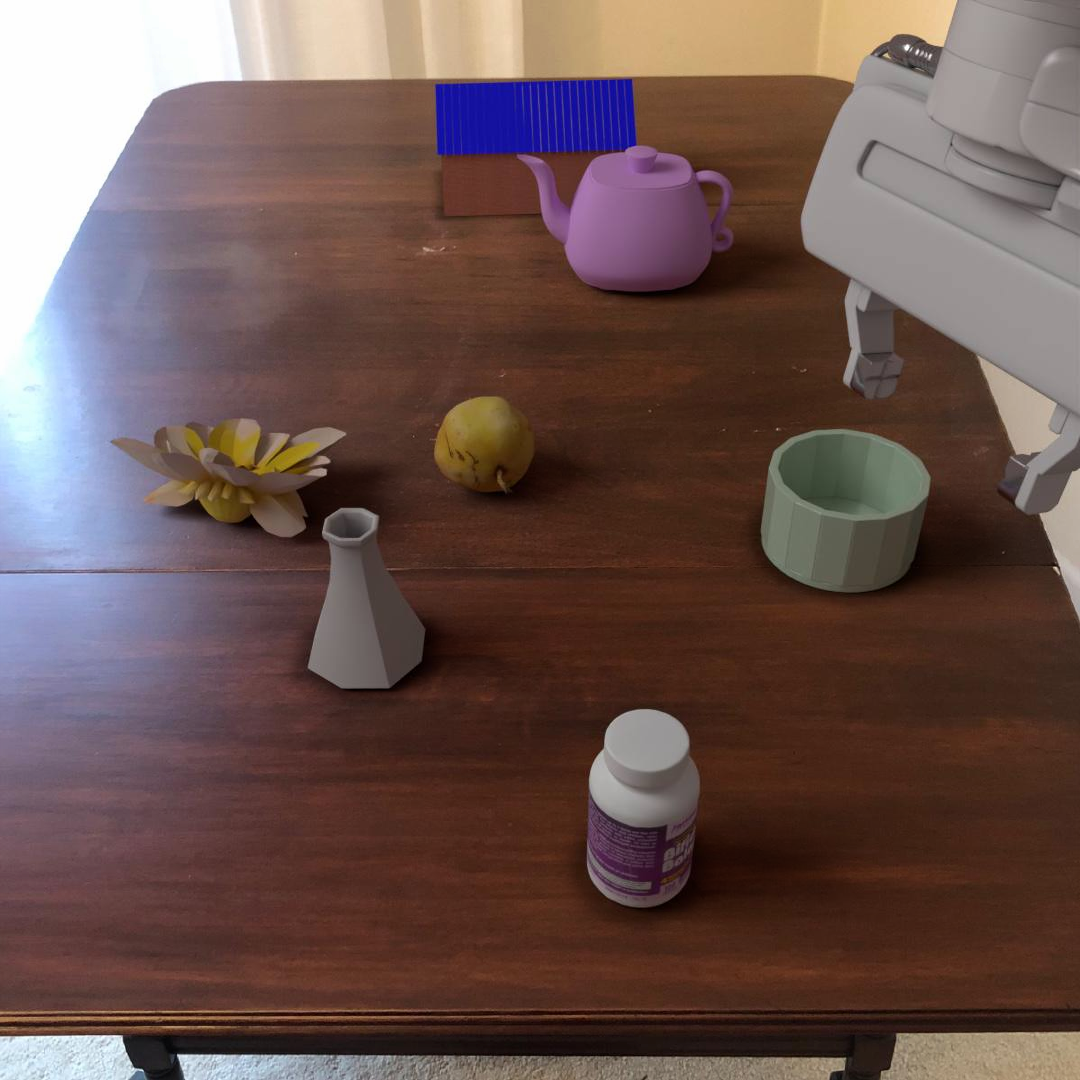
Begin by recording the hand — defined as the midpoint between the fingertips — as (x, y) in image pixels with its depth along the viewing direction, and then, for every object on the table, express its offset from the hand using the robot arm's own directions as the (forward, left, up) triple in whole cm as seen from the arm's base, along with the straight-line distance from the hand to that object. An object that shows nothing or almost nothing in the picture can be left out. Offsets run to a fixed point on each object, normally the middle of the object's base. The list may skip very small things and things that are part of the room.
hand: (939, 444), depth 49 cm
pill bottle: (+3, +11, -25) cm, 27 cm away
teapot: (+63, -22, -25) cm, 71 cm away
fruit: (+38, +4, -25) cm, 45 cm away
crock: (+20, -14, -25) cm, 35 cm away
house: (+84, -23, -25) cm, 90 cm away
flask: (+25, +18, -25) cm, 39 cm away
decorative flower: (+43, +20, -25) cm, 53 cm away
